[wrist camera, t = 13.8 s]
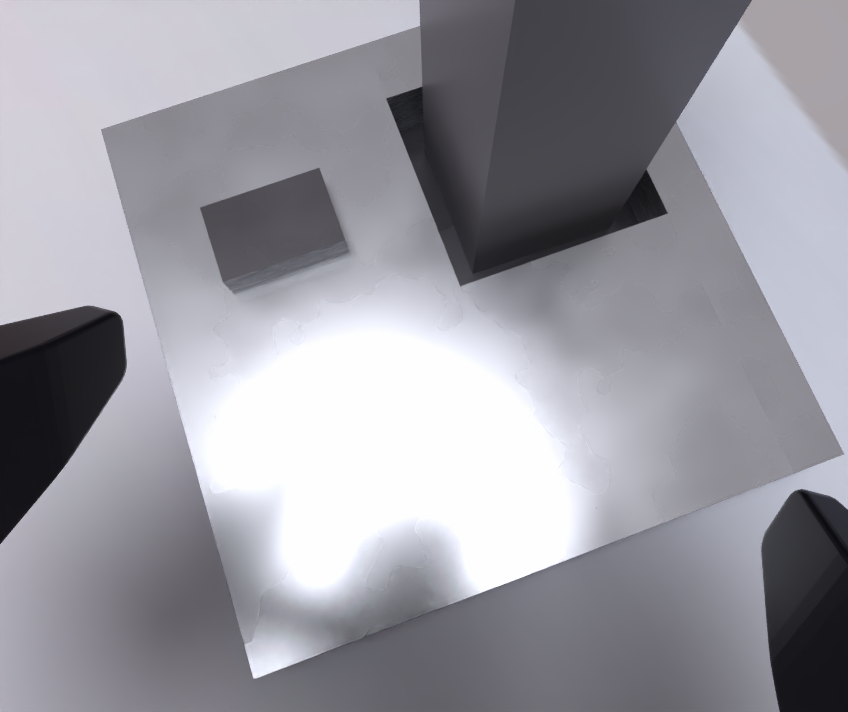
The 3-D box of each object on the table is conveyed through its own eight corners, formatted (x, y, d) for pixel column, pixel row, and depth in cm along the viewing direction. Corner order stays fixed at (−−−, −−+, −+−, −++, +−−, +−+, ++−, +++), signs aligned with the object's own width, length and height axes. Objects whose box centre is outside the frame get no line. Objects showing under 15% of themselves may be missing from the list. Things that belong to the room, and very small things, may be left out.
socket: (275, 658, 16) (243, 689, 13) (135, 168, 19) (84, 111, 16) (796, 460, 17) (866, 451, 14) (582, 21, 20) (605, -57, 17)
